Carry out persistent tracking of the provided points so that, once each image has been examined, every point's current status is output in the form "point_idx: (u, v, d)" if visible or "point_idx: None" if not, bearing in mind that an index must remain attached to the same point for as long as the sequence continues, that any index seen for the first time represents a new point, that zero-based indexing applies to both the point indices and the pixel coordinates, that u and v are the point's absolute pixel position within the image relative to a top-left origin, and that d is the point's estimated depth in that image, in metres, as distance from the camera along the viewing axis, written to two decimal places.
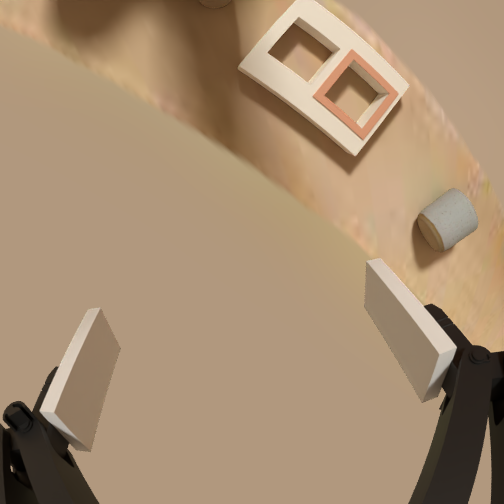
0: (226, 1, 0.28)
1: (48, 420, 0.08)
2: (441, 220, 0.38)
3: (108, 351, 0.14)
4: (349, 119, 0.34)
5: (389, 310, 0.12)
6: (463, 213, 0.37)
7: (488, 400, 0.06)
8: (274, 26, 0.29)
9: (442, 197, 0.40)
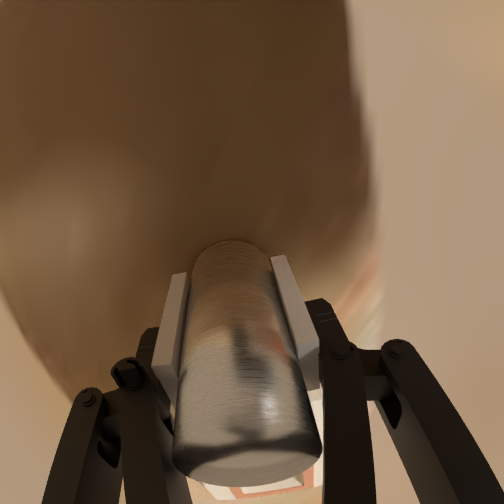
0: None
1: (157, 376, 0.10)
2: None
3: None
4: (238, 489, 0.25)
5: None
6: None
7: (364, 390, 0.08)
8: None
9: None
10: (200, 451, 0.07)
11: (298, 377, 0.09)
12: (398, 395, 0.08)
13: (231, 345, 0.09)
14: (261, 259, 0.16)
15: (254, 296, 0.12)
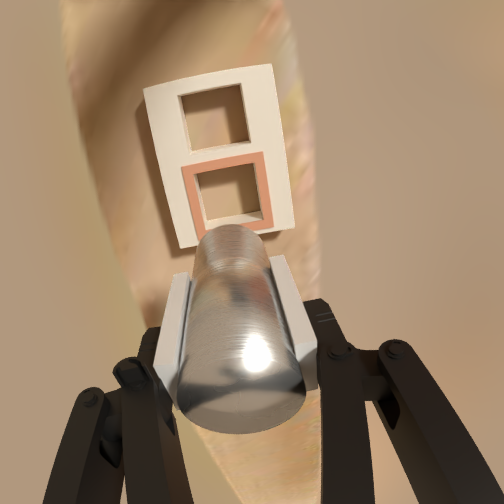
0: None
1: (159, 376, 0.10)
2: None
3: None
4: (199, 213, 0.33)
5: None
6: None
7: (362, 390, 0.08)
8: (208, 75, 0.27)
9: None
10: (201, 387, 0.09)
11: (285, 329, 0.11)
12: (396, 395, 0.08)
13: (229, 301, 0.11)
14: (256, 240, 0.18)
15: (249, 266, 0.14)
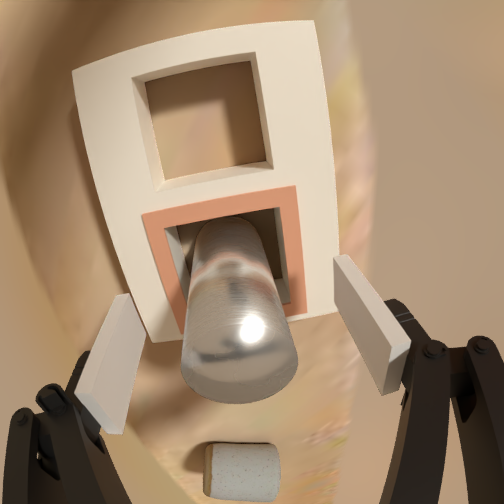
0: None
1: (82, 402, 0.09)
2: (224, 481, 0.26)
3: (136, 336, 0.14)
4: (179, 294, 0.19)
5: (352, 304, 0.13)
6: (259, 490, 0.26)
7: (448, 393, 0.07)
8: (190, 37, 0.13)
9: (253, 454, 0.29)
10: (203, 354, 0.11)
11: (278, 304, 0.13)
12: (476, 388, 0.07)
13: (227, 279, 0.13)
14: (252, 230, 0.19)
15: (245, 251, 0.16)
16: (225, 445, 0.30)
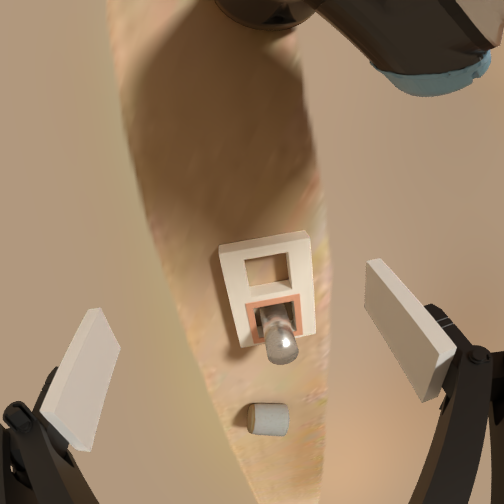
0: None
1: (48, 420, 0.08)
2: (261, 421, 0.58)
3: (108, 351, 0.14)
4: (255, 329, 0.50)
5: (389, 310, 0.12)
6: (278, 426, 0.58)
7: (488, 400, 0.06)
8: (265, 247, 0.44)
9: (275, 407, 0.61)
10: (274, 350, 0.42)
11: (293, 336, 0.44)
12: None
13: (279, 329, 0.44)
14: (282, 305, 0.51)
15: (282, 317, 0.47)
16: (260, 403, 0.62)
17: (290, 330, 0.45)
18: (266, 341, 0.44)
